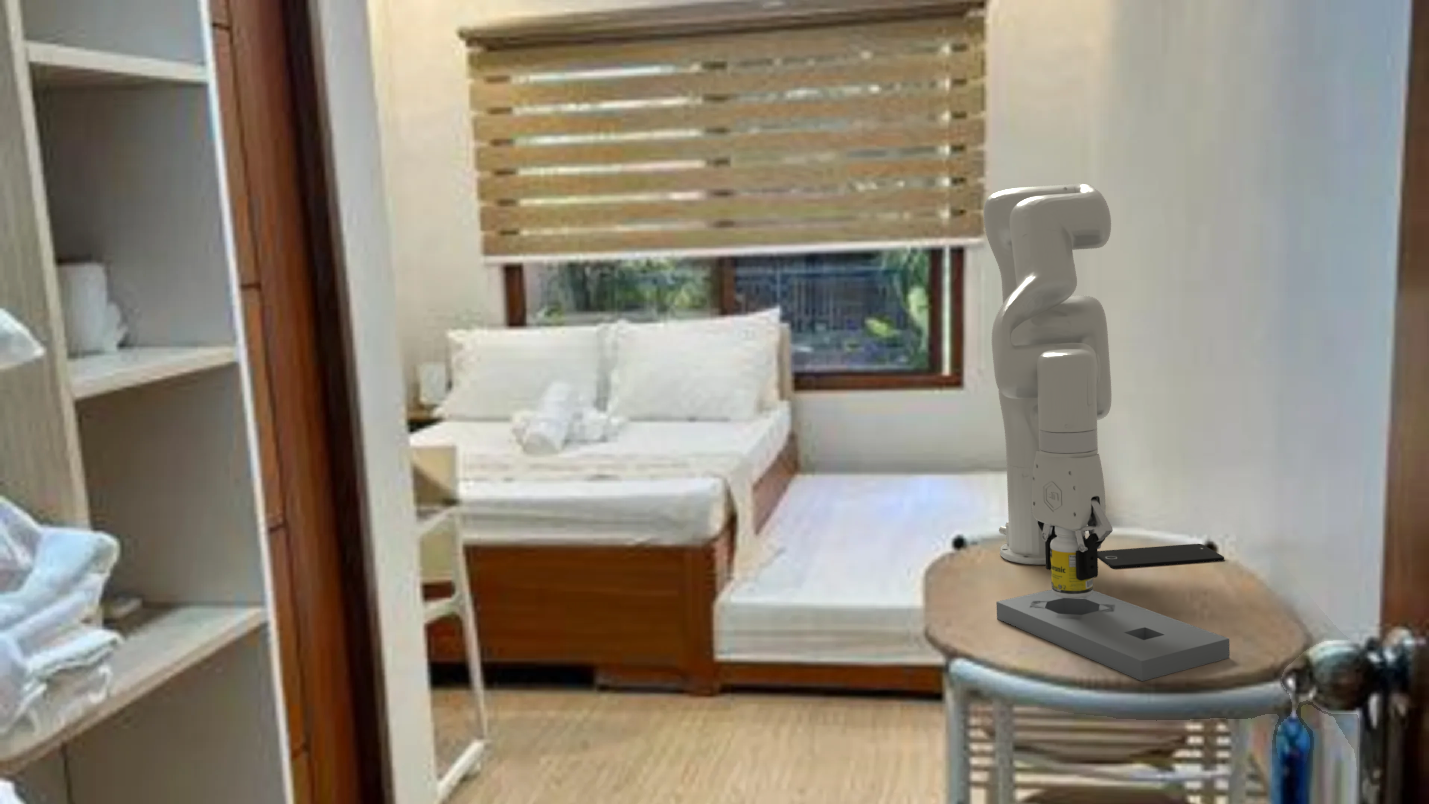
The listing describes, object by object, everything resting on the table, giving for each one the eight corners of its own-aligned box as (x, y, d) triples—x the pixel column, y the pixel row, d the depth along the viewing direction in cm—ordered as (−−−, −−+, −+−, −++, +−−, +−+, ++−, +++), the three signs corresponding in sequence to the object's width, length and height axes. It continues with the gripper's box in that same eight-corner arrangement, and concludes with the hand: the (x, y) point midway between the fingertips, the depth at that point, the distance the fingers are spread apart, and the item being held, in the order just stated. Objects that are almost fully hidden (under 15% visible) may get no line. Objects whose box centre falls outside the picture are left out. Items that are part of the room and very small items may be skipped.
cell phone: (1093, 556, 197) (1092, 551, 197) (1201, 548, 197) (1201, 543, 197) (1112, 571, 188) (1112, 565, 188) (1225, 563, 189) (1225, 557, 188)
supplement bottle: (1045, 589, 166) (1043, 520, 165) (1083, 586, 166) (1082, 517, 165) (1060, 600, 161) (1058, 529, 159) (1099, 597, 161) (1097, 526, 160)
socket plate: (996, 618, 168) (996, 601, 168) (1076, 600, 174) (1075, 584, 173) (1141, 681, 143) (1141, 661, 142) (1229, 657, 148) (1229, 638, 148)
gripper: (1005, 437, 167) (1009, 564, 169) (1089, 454, 151) (1093, 593, 154) (1048, 431, 170) (1052, 555, 172) (1136, 446, 154) (1138, 583, 157)
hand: (1071, 571), depth 163 cm, fingers closed on supplement bottle, 5 cm apart
